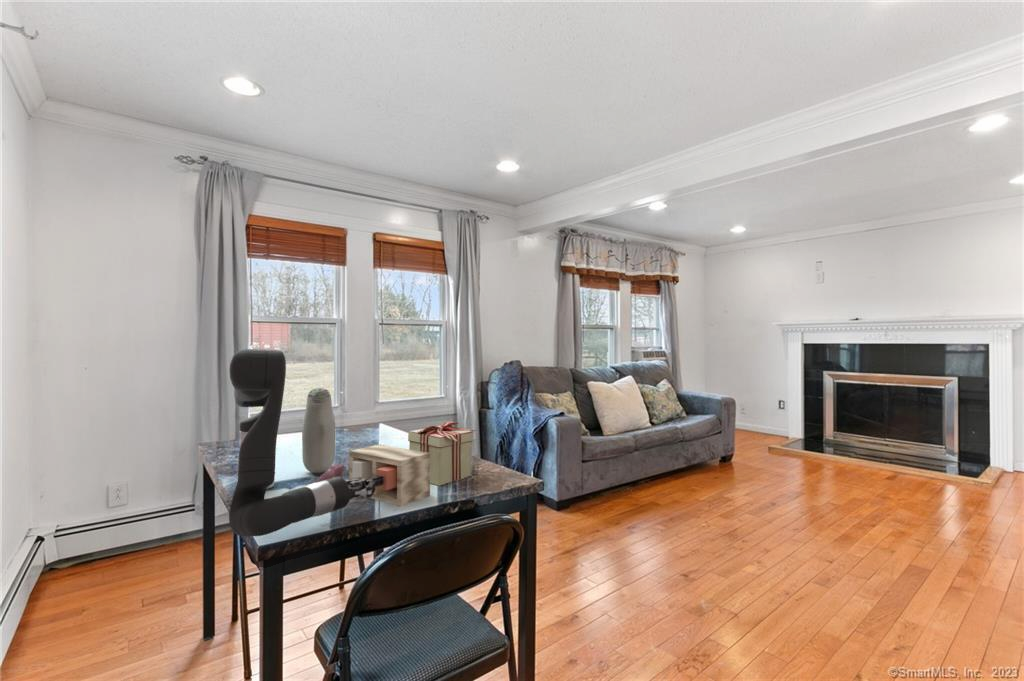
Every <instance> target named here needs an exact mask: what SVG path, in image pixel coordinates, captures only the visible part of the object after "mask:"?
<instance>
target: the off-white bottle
mask: <svg viewBox="0 0 1024 681" xmlns="http://www.w3.org/2000/svg"><path fill="white" fill-rule="evenodd" d="M332 406H333V403H332V396H331V393H330V391H329V390H328V389H326V388H323V387H317V388H313V389H311V390H310V391H309V392H308V394H307V396H306V406H305V411H304V414H303V419H302V425H301V441H302V442H301V444H302V448H301V450H302V451H301V452H302V454H301V455H302V463H303V465H304V466H303V467H305V469H306V470H307V471H308V472H310V473H312V474H323V473H325V472H326V471H327V470H328V469H329V468H330V467H331V466H333V465H334V462H335V459H336V458H335V457H336V419H335V415H334V411H333V410H334V409H333V407H332Z"/></svg>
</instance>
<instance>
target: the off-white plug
mask: <svg viewBox="0 0 1024 681" xmlns="http://www.w3.org/2000/svg"><path fill="white" fill-rule="evenodd" d="M358 477H361V478H362V479H363V478H372V461H371V460H366V459H361V460H357V461H353V462H352V478H358Z"/></svg>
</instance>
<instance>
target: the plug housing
mask: <svg viewBox="0 0 1024 681" xmlns="http://www.w3.org/2000/svg"><path fill="white" fill-rule="evenodd" d="M348 455H349V460H348V461H349V464H348V466H349V473H348V475H349V476H348V477H349V478H352V462H353V461H357V460H361V459H366V460H371V461H372V477H375V476H376V469H378V468H382V467H386V466H389V465H396V466H397V487H395V488H392V489H389V490H383V489H379V488H376V487H375V492H374V494H373V495H372V497H370V498H369V499H371V500H375V501H378V502H379V501H380V502H384V503H386V502H387V504H391V505H394V506H398V507H403V506H406V505H409V504H411V503H413V502H416V501H419V500H422V499H424V497H425V498H426V497H430V496H431V484H430V453H427V452H421V451H415V450H409V448H402V447H398V446H390V445H386V444H380V443H379V444H376V445H375V444H374V445H370V446H366V447H362V448H357V449H353V450H349V454H348ZM360 496H361V497H365V498H367V497H366V496H365V494H363V495H360ZM360 496H359V497H360Z"/></svg>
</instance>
